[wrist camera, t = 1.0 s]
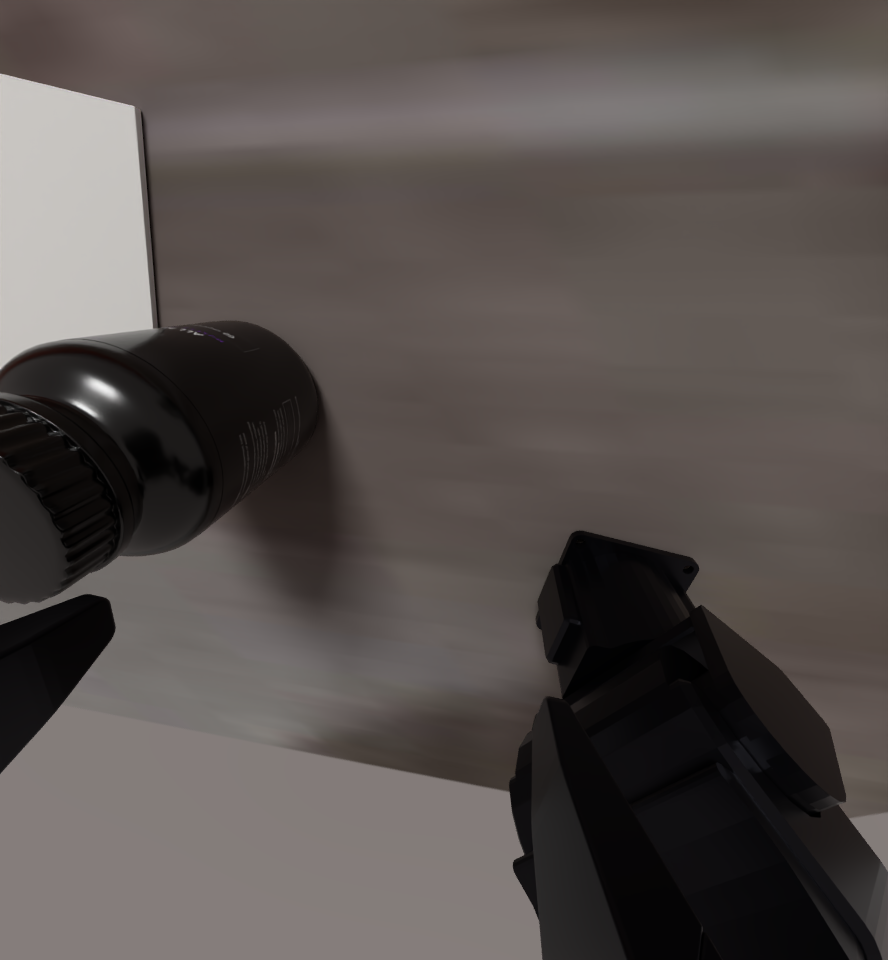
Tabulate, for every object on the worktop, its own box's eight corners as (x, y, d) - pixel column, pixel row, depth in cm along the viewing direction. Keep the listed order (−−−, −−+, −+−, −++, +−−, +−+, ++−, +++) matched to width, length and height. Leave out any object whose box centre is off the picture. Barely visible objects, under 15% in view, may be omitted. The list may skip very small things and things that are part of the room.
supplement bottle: (241, 283, 18) (-148, 275, 7) (351, 406, 20) (177, 552, 9) (156, 383, 20) (-234, 493, 9) (262, 485, 22) (37, 677, 11)
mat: (140, 109, 16) (134, 106, 15) (174, 542, 24) (171, 545, 24) (-220, 21, 16) (-233, 16, 15) (-58, 484, 24) (-64, 487, 24)
